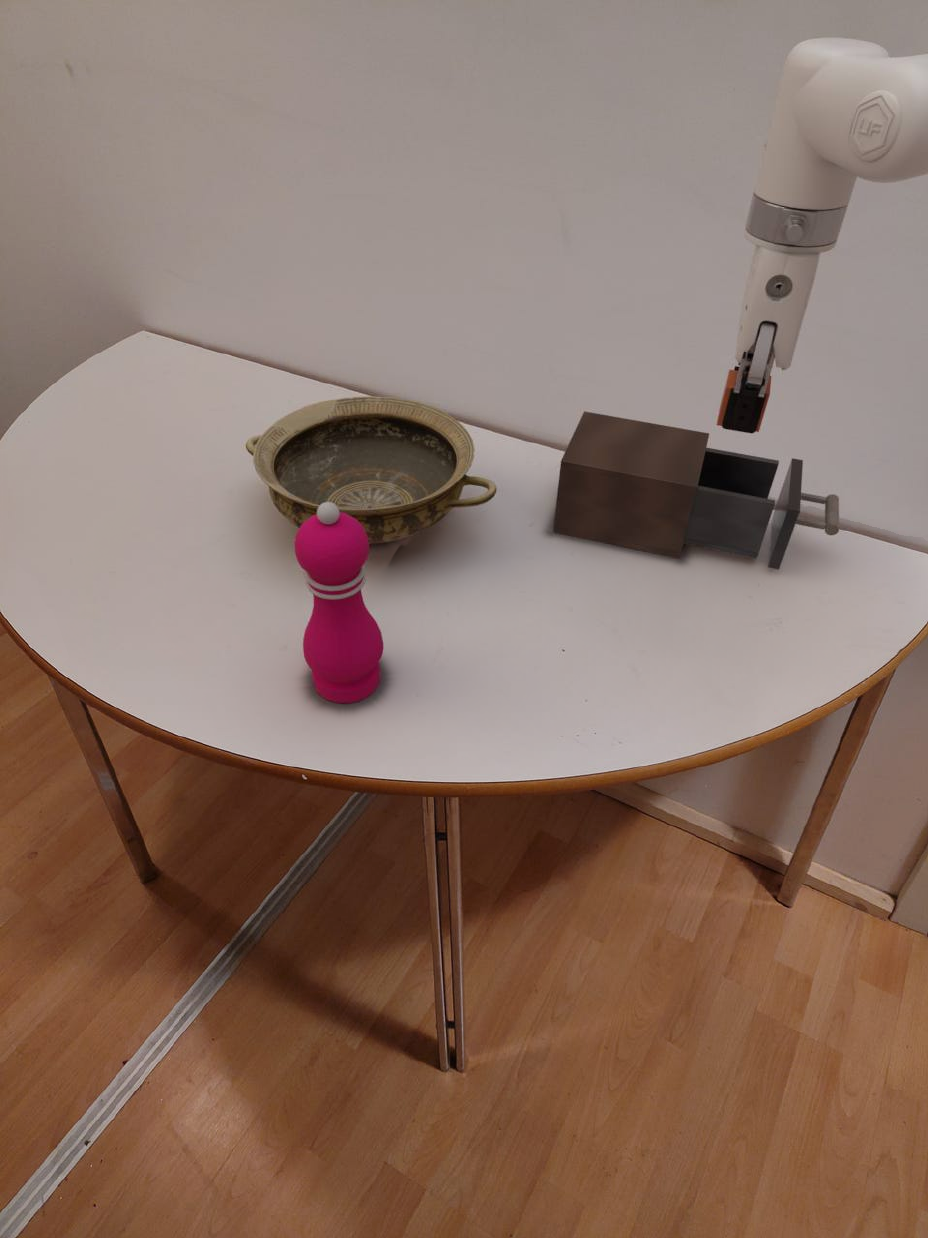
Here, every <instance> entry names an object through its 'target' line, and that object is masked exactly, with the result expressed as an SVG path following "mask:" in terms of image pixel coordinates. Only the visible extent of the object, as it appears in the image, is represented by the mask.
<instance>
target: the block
mask: <svg viewBox="0 0 928 1238" xmlns="http://www.w3.org/2000/svg"><path fill="white" fill-rule="evenodd" d="M738 372H739V371H736V370H734V369H729V370H728V372H727V376H726V382H725V386H724V389H723V393H722V398H721V401H720V404H719V409H718V415H717V421H716V426H720V427H722V422H723V418H724V414H725V410H726V407H727V403H728V399H729V395H730V391H731V388H734V387H735V383H736V379H737V375H738ZM745 373H749V372H745ZM745 373H744V374H745ZM771 386H772V375H770V377H769V380H768V384H767V388H766V391H765V393H766V398H765V402H764V405H763V409H762V412H761V415H760V419H759V422H758V426H757V429H756V432H755V433H759V432H760V430H761V425H762V422H763V419H764V416H765V413H766V408H767V405H768V402H769V399H770V395H771Z"/></svg>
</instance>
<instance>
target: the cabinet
mask: <svg viewBox="0 0 928 1238" xmlns="http://www.w3.org/2000/svg"><path fill="white" fill-rule="evenodd" d="M709 437H710V433H709V432H704V431H697V430H692V429H685V428H681V427H675V426H670V425H665V424H658V423H652V422H648V421H641V420H636V419H630V418H624V417H620V416H619V417H618V416H613V415H608V414H602V413H596V412H590V411H585V410H584V411H583V413H582V415H581V417H580V419H579V422H578V423H577V426H576V428H575V430H574V432H573V434H572V436H571V438H570V441H569V442H568V445H567V447H566V449H565V451H564V453H563V455H562V457H561V460H560V465H559V466H560V467H559V476H558V485H557V492H556V499H555V500H556V502H555V509H554V518H553V528H552V532H553V533H554V534H555V533H556V534H561V535H565V536H570V537H575V538H580V539H583V540H584V539H585V540H589V541H594V542H598V543H603V544H607V545H612V546H617V547H622V548H627V549H632V550H636V551H641V552H645V553H651V554H655V555H659V556H664V557H669V558H673V559H680V558H681V553H682V550H683V546H684V544H683V542H684V538H685V534H686V530H687V526H688V522H689V518H690V515H691V511H692V507H693V503H694V499H695V495H696V491H697V487H698V482H699V478H700V473H701V469H702V465H703V460H704V456H705V451H706V448H708V447H707V446H708V442H709Z"/></svg>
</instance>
